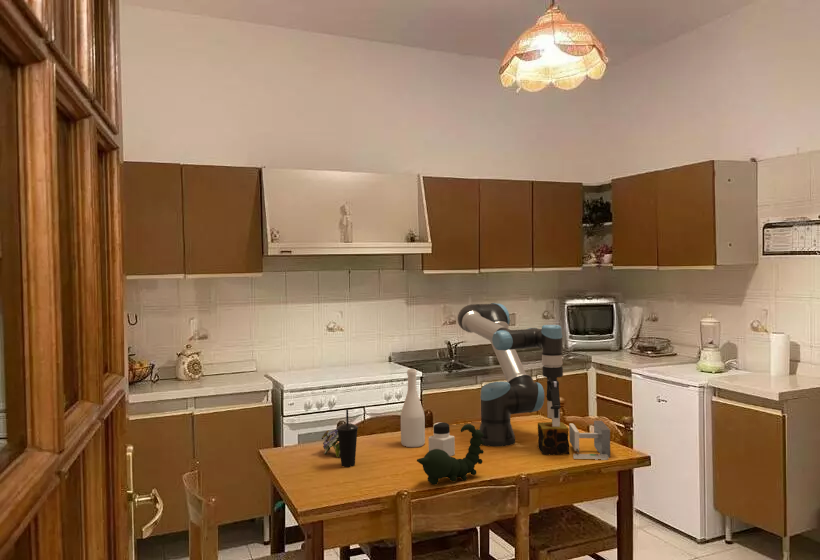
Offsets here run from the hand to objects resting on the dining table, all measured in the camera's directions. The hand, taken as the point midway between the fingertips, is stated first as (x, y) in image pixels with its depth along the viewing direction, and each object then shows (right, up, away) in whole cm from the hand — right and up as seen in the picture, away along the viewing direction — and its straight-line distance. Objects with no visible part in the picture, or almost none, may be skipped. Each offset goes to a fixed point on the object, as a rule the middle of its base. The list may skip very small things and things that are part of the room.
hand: (553, 422), depth 240 cm
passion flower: (-82, -13, +2) cm, 83 cm away
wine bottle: (-53, -12, +12) cm, 56 cm away
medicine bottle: (-42, -12, -3) cm, 44 cm away
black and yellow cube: (0, -11, +1) cm, 11 cm away
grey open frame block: (+13, -11, -2) cm, 17 cm away
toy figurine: (-41, -13, -31) cm, 53 cm away
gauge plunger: (+13, -9, -2) cm, 16 cm away
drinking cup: (-76, -13, -13) cm, 78 cm away
